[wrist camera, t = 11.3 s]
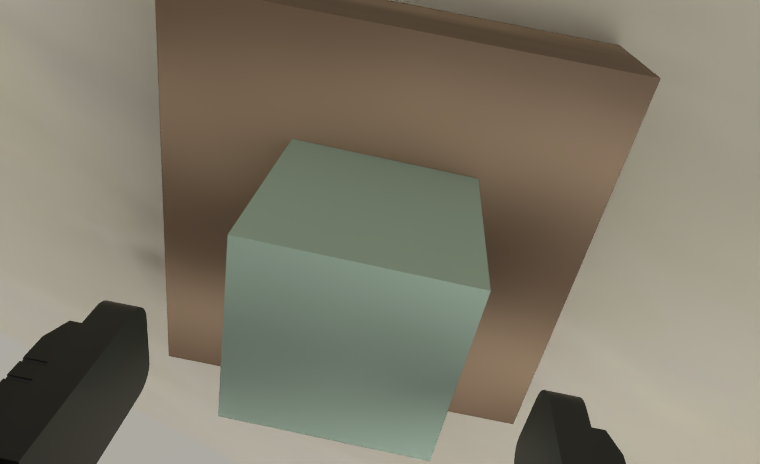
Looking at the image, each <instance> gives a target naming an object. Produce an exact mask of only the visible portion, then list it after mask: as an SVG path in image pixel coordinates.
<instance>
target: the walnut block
mask: <svg viewBox="0 0 760 464" xmlns="http://www.w3.org/2000/svg"><path fill="white" fill-rule="evenodd" d="M155 5H156V31H157V57H158V83H159V109H160V135H161V161H162V187H163V213H164V239H165V265H166V291H167V317H168V343H169V356H172V357H177V358H182V359H187V360H192V361H197V362H202V363H207V364H212V365H217V366H221V354H222V334H223V315H224V296H225V276H226V257H227V238H228V233H229V232H230V230H231V229H232V227H233V226H234V224H235V223H236V221H237V220H238V218H239V217H240V216H241V214H242V213H243V211H244V210H245V208H246V207H247V205H248V204H249V202H250V201H251V199H252V198H253V196H254V195H255V193H256V192H257V190H258V189H259V187H260V186H261V184H262V183H263V181H264V180H265V178H266V177H267V175H268V174H269V172H270V171H271V169H272V168H273V166H274V165H275V164H276V162H277V161H278V159H279V158H280V156H281V155H282V153H283V152H284V150H285V149H286V147H287V146H288V144H289V143H290V141H291V140H292V139H295V140H300V141H305V142H309V143H314V144H319V145H323V146H328V147H333V148H337V149H342V150H347V151H351V152H356V153H361V154H365V155H370V156H375V157H379V158H384V159H388V160H393V161H398V162H402V163H407V164H412V165H416V166H421V167H426V168H430V169H435V170H440V171H444V172H449V173H454V174H458V175H463V176H468V177H472V178H477V179H478V180H479V189H480V198H481V207H482V216H483V225H484V234H485V243H486V253H487V262H488V271H489V280H490V289H491V292H490V295H489V297H488V300H487V303H486V306H485V308H484V311H483V314H482V317H481V320H480V322H479V325H478V328H477V331H476V334H475V336H474V339H473V342H472V345H471V347H470V350H469V353H468V356H467V359H466V361H465V364H464V367H463V370H462V373H461V375H460V378H459V381H458V384H457V386H456V389H455V392H454V395H453V398H452V400H451V403H450V406H449V409H448V411H450V412H455V413H460V414H465V415H470V416H475V417H480V418H485V419H490V420H495V421H500V422H505V423H510V424H513V423H514V421H515V419H516V416H517V414H518V412H519V409H520V407H521V405H522V402H523V400H524V398H525V395H526V393H527V390H528V388H529V386H530V383H531V381H532V379H533V376H534V374H535V372H536V369H537V367H538V365H539V362H540V360H541V358H542V355H543V353H544V351H545V348H546V346H547V344H548V341H549V339H550V337H551V334H552V332H553V329H554V327H555V325H556V322H557V320H558V318H559V315H560V313H561V311H562V308H563V306H564V304H565V301H566V299H567V297H568V294H569V292H570V290H571V287H572V285H573V283H574V280H575V278H576V276H577V273H578V271H579V268H580V266H581V264H582V261H583V259H584V257H585V254H586V252H587V250H588V247H589V245H590V243H591V240H592V238H593V236H594V233H595V231H596V229H597V226H598V224H599V222H600V219H601V217H602V215H603V212H604V210H605V207H606V205H607V203H608V200H609V198H610V196H611V193H612V191H613V189H614V186H615V184H616V182H617V179H618V177H619V175H620V172H621V170H622V168H623V165H624V163H625V161H626V158H627V156H628V154H629V151H630V149H631V147H632V144H633V142H634V139H635V137H636V135H637V132H638V130H639V128H640V125H641V123H642V121H643V118H644V116H645V114H646V111H647V109H648V107H649V104H650V102H651V100H652V97H653V95H654V93H655V90H656V88H657V86H658V83H659V81H660V78H659V77H658V76H657V75H656V74H654V73H653V72H652V71H651V70H650V69H648V68H647V67H646V66H645V65H643V64H642V63H641V62H640V61H638V60H637V59H636V58H635V57H633V56H632V55H631V54H630V53H628V52H627V51H626V50H625V49H624V48H622V47H621V46H619V45H614V44H609V43H604V42H599V41H594V40H589V39H583V38H578V37H573V36H568V35H563V34H558V33H553V32H548V31H542V30H537V29H532V28H527V27H522V26H517V25H512V24H507V23H501V22H496V21H491V20H486V19H481V18H476V17H471V16H465V15H460V14H455V13H450V12H445V11H440V10H435V9H430V8H424V7H419V6H414V5H409V4H404V3H399V2H394V1H389V0H155Z"/></svg>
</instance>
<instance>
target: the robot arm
mask: <svg viewBox="0 0 760 464" xmlns="http://www.w3.org/2000/svg"><path fill="white" fill-rule="evenodd" d="M148 371H149V349H148V334H147V319H146V312H145V310H144V309H143V308H141V307H136V306H131V305H126V304H121V303H116V302H111V301H102V302H101V303H99V304H98V305H97V306H96V307H95V309H94V310H93V311H92V312H91V313H90V314H89V315H88V317H87V318H86V319H85V320H84V321H83V322H82V323H78V322H73V321H68V322H67V323H65V324H63V325H61V326H60V327H58V328H56V329H55V330H53V331H51V332H49V333H48V334H46V335H44V336H43V337H42V338H41V339H40V340H39V341H38V342H37V343H36V344H35V345H34V346H33V347H32V348H31V349H30V351H29V352H28V353H27V354H26V355H25V356H24V358H23V361H22V362H21V361H19V363H17V365H16V366H15V367H14V368H13V369H12V370H11V371H10V372H9V373H8V374H7V378H6V379H3V380H2V381H1V382H0V464H97V462H98V460H99V459H100V457H101V456H102V454H103V452H104V451H105V449H106V448H107V446H108V444H109V443H110V441H111V440H112V438H113V436H114V435H115V433H116V432H117V430H118V428H119V427H120V425H121V424H122V422H123V420H124V419H125V417H126V416H127V414H128V413H129V411H130V409H131V408H132V406H133V405H134V403H135V401H136V400H137V398H138V397H139V395H140V393H141V391H142V389H143V387H144V385H145V382H146V379H147V376H148ZM514 464H626V462H625V459H624V456H623V454H622V453H621V451H620V450H619V448H618V447H617V446H616V444H615V443H614V441H613V440H612V439H611V437H610V436H609V434H608V433H607V432H606V430H602V429H597V428H592V427H591V424H590V420H589V417H588V413H587V409H586V406H585V403H584V401H583V399H582V398H580V397H576V396H571V395H566V394H561V393H556V392H551V391H546V390H542V391H541V392H540V393H539V395H538V396H537V399H536V401H535V403H534V405H533V407H532V410H531V412H530V414H529V416H528V419H527V421H526V423H525V425H524V427H523V430H522V432H521V434H520V436H519V439H518V442H517V446H516V451H515V459H514Z"/></svg>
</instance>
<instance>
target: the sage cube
mask: <svg viewBox="0 0 760 464" xmlns="http://www.w3.org/2000/svg"><path fill="white" fill-rule="evenodd" d="M490 292H491V289H490V280H489V271H488V262H487V253H486V243H485V234H484V225H483V216H482V207H481V198H480V189H479V180H478V179H477V178H472V177H468V176H463V175H458V174H454V173H449V172H444V171H440V170H435V169H430V168H426V167H421V166H416V165H412V164H407V163H402V162H398V161H393V160H388V159H384V158H379V157H375V156H370V155H365V154H361V153H356V152H351V151H347V150H342V149H337V148H333V147H328V146H323V145H319V144H314V143H309V142H305V141H300V140H295V139H292V140H291V141H290V143H289V144H288V146H287V147H286V149H285V150H284V152H283V153H282V155H281V156H280V158H279V159H278V161H277V162H276V164H275V165H274V166H273V168H272V169H271V171H270V172H269V174H268V175H267V177H266V178H265V180H264V181H263V183H262V184H261V186H260V187H259V189H258V190H257V192H256V193H255V195H254V196H253V198H252V199H251V201H250V202H249V204H248V205H247V207H246V208H245V210H244V211H243V213H242V214H241V216H240V217H239V218H238V220H237V221H236V223H235V224H234V226H233V227H232V229H231V230H230V232H229V233H228V238H227V257H226V276H225V296H224V315H223V334H222V354H221V373H220V392H219V412H218V416H221V417H225V418H230V419H235V420H239V421H244V422H249V423H253V424H258V425H263V426H267V427H272V428H277V429H282V430H286V431H291V432H296V433H300V434H305V435H310V436H314V437H319V438H324V439H328V440H333V441H338V442H342V443H347V444H352V445H356V446H361V447H366V448H371V449H375V450H380V451H385V452H389V453H394V454H399V455H403V456H408V457H413V458H417V459H422V460H427V461H430V459H431V456H432V453H433V451H434V448H435V445H436V442H437V439H438V437H439V434H440V431H441V428H442V425H443V423H444V420H445V417H446V414H447V412H448V409H449V406H450V403H451V400H452V398H453V395H454V392H455V389H456V386H457V384H458V381H459V378H460V375H461V373H462V370H463V367H464V364H465V361H466V359H467V356H468V353H469V350H470V347H471V345H472V342H473V339H474V336H475V334H476V331H477V328H478V325H479V322H480V320H481V317H482V314H483V311H484V308H485V306H486V303H487V300H488V297H489V295H490Z"/></svg>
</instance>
